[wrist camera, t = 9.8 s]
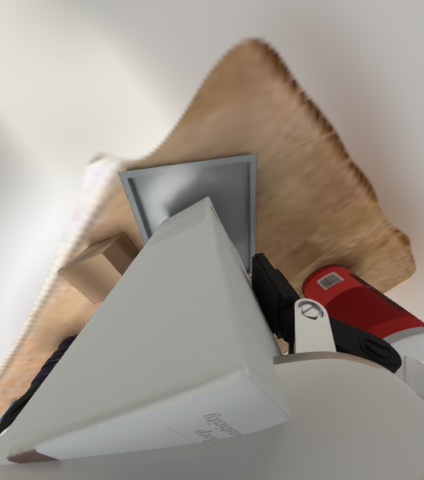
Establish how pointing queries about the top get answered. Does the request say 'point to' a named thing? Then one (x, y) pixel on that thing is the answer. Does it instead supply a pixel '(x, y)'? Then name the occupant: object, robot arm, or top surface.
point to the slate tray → (198, 196)
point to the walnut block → (100, 267)
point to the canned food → (366, 309)
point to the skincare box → (160, 356)
